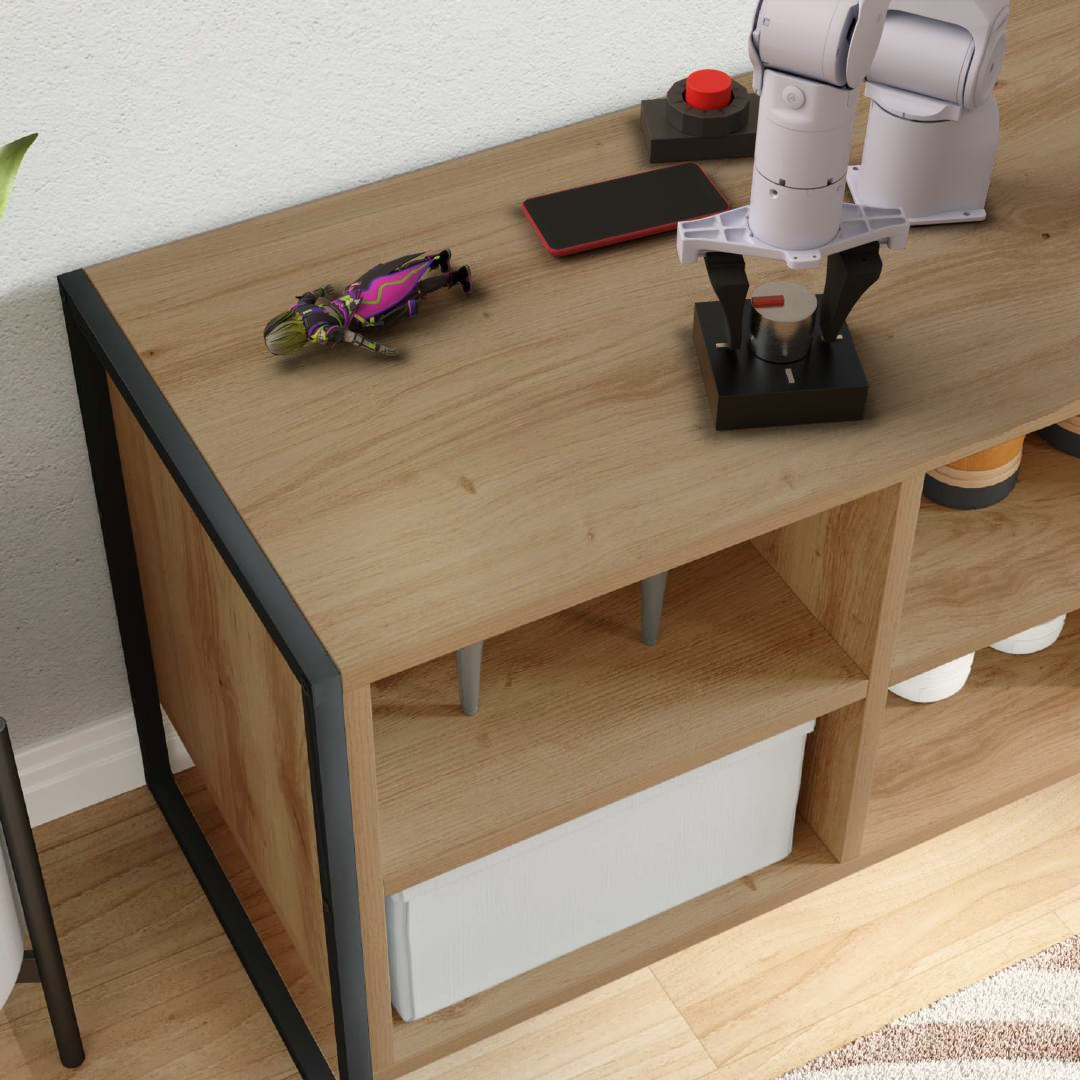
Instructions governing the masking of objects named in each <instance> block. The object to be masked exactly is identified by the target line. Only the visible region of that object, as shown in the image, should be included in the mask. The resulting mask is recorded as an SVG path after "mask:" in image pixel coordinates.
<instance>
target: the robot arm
mask: <svg viewBox="0 0 1080 1080" xmlns="http://www.w3.org/2000/svg"><path fill="white" fill-rule="evenodd" d="M1009 6H1010V0H756V3H755V6H754V8H753V13H752V18H751V23H750V28H749V29H750V30H749V32H748V35H747V53H748V58H749V60H750V63H751V65H752V70H753V71H752V72H753V73H752V84H751V85H752V87H751V88H752V89H753V93H757V95H759V96H760V104H759V114H758V125H757V135H756V146H755V156H753V167H752V168H753V169H752V180H751V191H750V200H749V201H750V202H749V204H747V205H743V206H740V207H737V208H733V209H730V211H726V212H723V213H720V214H716V215H713V216H710V217H706V218H702V219H698V220H692V221H683V222H678V229H676V231H677V232H676V249H677V254H678V259H679V262H680V265H693V264H696V263H697V262H698V259H699V258H703V261H704V265H705V268H706V272H707V276H708V279H709V282H710V284H711V287H712V290H713V291H714V293H715V295H716V297H717V299H718V301H720V303H721V306H722V308H723V313H724V322H725V334H726V338H727V342H728V346H729V349H731V350H735V349H740V347H741V342H742V317H743V310H744V305H745V300H746V299H747V296H748V292H749V289H750V282H749V279H748V276H747V273H746V261H745V258H744V256H747V257H755V258H762V259H768V260H769V259H770V260H776V261H783V262H785V263H786V265H787V267H788V268H789V269H791V270H793V271H794V270H796V271H799V270H800V271H801V270H813V269H818V268H819V267H821V264H822V259H823V258H824V257H826V273H825V274H826V275H825V282H824V288H823V292H822V294H823V298H822V303H821V308H820V321H819V325H820V328H821V331H822V334H823V337H824V340H825V343H834V342H835V341H836V339H837V336H838V334H839V332H840V330H841V328H842V326H843V324H844V322H845V320H847V318H848V317H849V314H850V313H851V311H852V310H853V308H854V307H855V305H856V304H857V302H858V301H859V300H860V298H862V296H863V295H864V294H865V293H866V292H867V291H868V290H869V288H871V287H872V286H873V285H874V284H875V283H876V282H877V281H879V280H880V277H881V274H882V271H883V265H884V264H883V260H882V257H881V255H880V247H881V246H883V245H884V246H885V245H886V246H887V248H888V249H889V250H890V251H898V250H899V251H900V250H901V251H902V250H906V248H907V244H908V238H909V232H910V227H911V226H921V225H922V226H923V225H937V224H939V225H940V224H953V223H969V222H981V221H985V220H986V217H987V211H986V210H985V206H986V205H985V204H986V201H987V196H988V191H989V187H990V183H991V178H992V174H993V169H994V164H995V161H996V155H997V152H998V147H999V140H1000V113H999V112H1000V111H999V107H998V106H999V105H998V102H997V99H996V96H995V95H994V93H993V90H994V88H995V86H996V83H997V82H998V79H999V75H1000V73H1001V70H1002V66H1003V64H1004V59H1005V56H1006V51H1007V45H1008V33H1007V31H1008V24H1009V18H1010V13H1011V9H1010V7H1009ZM861 83H865V87H864V88H865V89H864V94H863V95H864V97H866V98H868V99H870V104H869V111H868V116H867V124H866V131H865V136H864V142H863V143H864V144H863V150H862V156H861V162H860V163H861V164H855V165H849V162H850V155H851V149H852V142H853V135H854V128H855V122H856V115H857V107H858V100H859V94H860V87H861ZM846 183H847V187H848V189H849V191H850V194H851V196H852V199H853V202H854V203H850V202H844V198H845V189H846Z"/></svg>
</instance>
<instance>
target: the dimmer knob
mask: <svg viewBox="0 0 1080 1080" xmlns="http://www.w3.org/2000/svg"><path fill="white" fill-rule="evenodd" d="M815 294H816V293H814V292H813V291H812V290H811V289H810V288H808V287H807V286H806V285H803V284H801V283H798V282H794V281H789V280H775V281H774V280H773V281H769V282H766V283H763V284H761V285H759V286H757V288H756V289H754V290H753V292H752V294H751V296H750V299H751V302H750V312H749V322H748V332H747V345H748V347H749V349H750V350H751V351H752V352H753V353H754V354H755V355H756V356H758V357H760V358H762V359H764V360H767V361H770V362H776V363H788V362H794V361H797V360H799V359H801V358H803V357H805V356H806V355H807V354H808V353H809V352H810V350H811V348H812V342H813V335H814V328H815V321H816V314H817V307H818V301H817V298H816V296H815Z"/></svg>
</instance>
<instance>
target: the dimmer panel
mask: <svg viewBox="0 0 1080 1080" xmlns="http://www.w3.org/2000/svg"><path fill="white" fill-rule="evenodd" d="M814 294H815V296H816V298H817V301H818V307H817V314H816V321H815V328H814V335H813V342H812V348H811V350H810V352H809V353H808V354H807V355H806V356H805V357H803V358H801V359H799V360H797V361H794V362H788V363H776V362H770V361H767V360H764V359H762V358H760V357H758V356H756V355H755V354H754V353H753V352H752V351H751V350H750V349H749V347H748V345H747V332H748V322H749V312H750V302H751V298H746V300H745V305H744V310H743V317H742V342H741V347H740V349H735V350H731V349H729V346H728V342H727V338H726V334H725V322H724V313H723V308H722V306H721V303H720V301H719V300H710V301H696V302H694V305H693V307H694V308H693V322H692V340H693V344H694V348H695V353H696V356H697V360H698V364H699V365H698V366H699V367H700V372H701V376H702V377H701V378H702V380H703V381H702V382H703V385H704V389H705V392H706V393H705V394H706V396H707V401H708V405H709V409H710V413H711V417H712V421H713V425H714V430H715V431H722V430H723V431H724V430H725V431H726V430H737V429H739V430H740V429H750V428H751V429H752V428H764V427H765V428H766V427H779V426H792V425H803V424H804V425H805V424H806V425H807V424H819V423H821V424H822V423H832V422H847V421H860V420H863V419H864V417H865V416H864V415H865V411H866V410H865V409H866V404H867V400H868V399H867V398H868V393H869V387H870V385H869V383H868V380H867V377H866V374H865V371H864V368H863V366H862V362H861V359H860V357H859V354H858V351H857V349H856V345H855V342H854V340H853V337H852V335H851V334H852V333H851V331H850V329H849V326H848V323H847V321H846V320H847V319H846V320H845V322H844V324H843V326H842V328H841V330H840V332H839V334H838V336H837V339H836V341H835V342H834V343H825V340H824V337H823V334H822V331H821V328H820V325H819V321H820V308H821V303H822V298H823V293H814Z"/></svg>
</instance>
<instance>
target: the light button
mask: <svg viewBox="0 0 1080 1080" xmlns="http://www.w3.org/2000/svg"><path fill="white" fill-rule="evenodd" d="M687 77H688V78H687ZM687 77H686V78H687V83H686V102H687V104H689V105H690V106H692V107H694V108H699V109H703V110H712V109H721V108H723V107H726V106H728V105H729V103H730V100H731V87H732V80H731V79H732V78H731V76H730V74H728V73H726V72H724V71H722V70H719V69H714V68H703V69H698V70H696V71H693V72H691V73H690V74H689V75H688V76H687Z"/></svg>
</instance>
